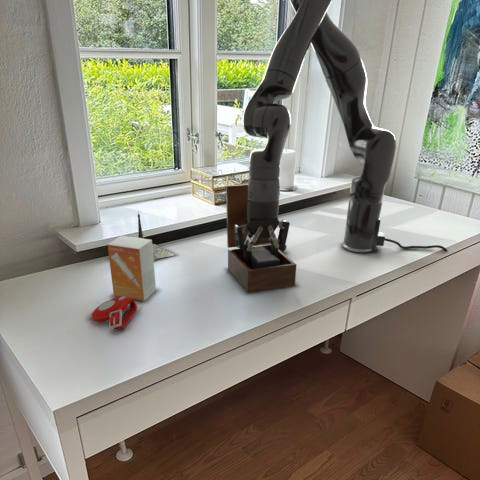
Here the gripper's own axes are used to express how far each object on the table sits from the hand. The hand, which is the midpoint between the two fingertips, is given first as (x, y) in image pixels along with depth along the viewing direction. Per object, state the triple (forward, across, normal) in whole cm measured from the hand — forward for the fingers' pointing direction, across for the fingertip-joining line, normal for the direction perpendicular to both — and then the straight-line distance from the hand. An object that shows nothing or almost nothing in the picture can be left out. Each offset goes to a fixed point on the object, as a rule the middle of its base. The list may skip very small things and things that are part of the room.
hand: (260, 262), depth 119 cm
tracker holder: (+4, +38, +10) cm, 40 cm away
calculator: (+1, 0, 0) cm, 1 cm away
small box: (+4, +32, -1) cm, 32 cm away
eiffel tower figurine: (+4, +26, -23) cm, 35 cm away
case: (+4, 0, 0) cm, 4 cm away
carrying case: (+4, -7, -19) cm, 21 cm away
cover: (-10, 0, -7) cm, 12 cm away
